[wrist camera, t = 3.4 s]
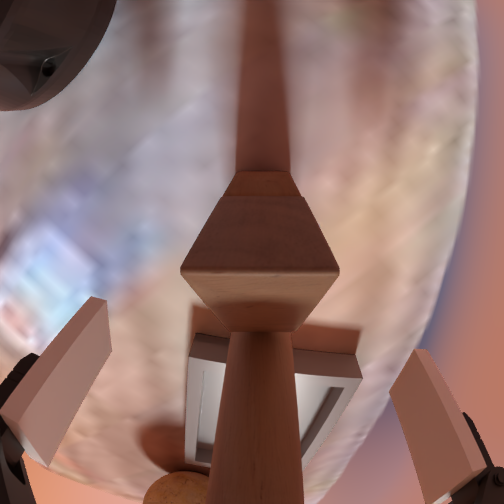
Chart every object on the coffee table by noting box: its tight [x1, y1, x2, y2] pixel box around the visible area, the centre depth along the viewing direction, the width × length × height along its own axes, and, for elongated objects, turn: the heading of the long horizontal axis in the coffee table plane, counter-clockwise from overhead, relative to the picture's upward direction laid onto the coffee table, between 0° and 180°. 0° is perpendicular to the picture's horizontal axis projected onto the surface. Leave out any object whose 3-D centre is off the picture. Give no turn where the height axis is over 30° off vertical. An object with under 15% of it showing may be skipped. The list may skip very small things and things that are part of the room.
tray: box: [185, 333, 363, 472], centre depth 27 cm, size 19×14×3 cm
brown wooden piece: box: [180, 171, 340, 504], centre depth 13 cm, size 4×11×18 cm, turn 1°
